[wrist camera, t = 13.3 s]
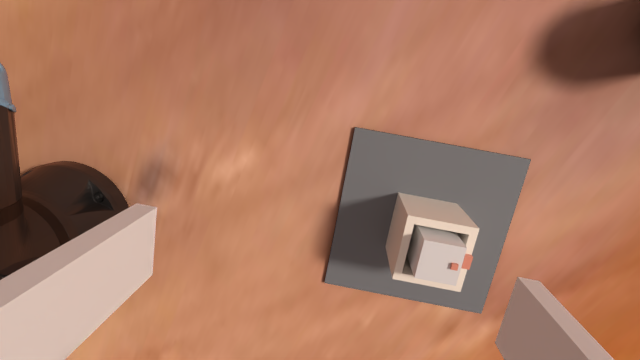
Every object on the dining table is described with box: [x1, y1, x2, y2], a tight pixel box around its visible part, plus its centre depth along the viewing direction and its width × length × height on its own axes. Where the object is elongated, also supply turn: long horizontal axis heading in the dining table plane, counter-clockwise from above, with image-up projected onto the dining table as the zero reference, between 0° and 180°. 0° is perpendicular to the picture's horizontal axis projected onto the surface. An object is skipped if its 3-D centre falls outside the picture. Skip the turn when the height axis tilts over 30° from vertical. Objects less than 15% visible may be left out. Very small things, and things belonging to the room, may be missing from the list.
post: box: [325, 127, 531, 314], centre depth 41 cm, size 20×20×11 cm
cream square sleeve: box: [385, 193, 479, 292], centre depth 42 cm, size 7×7×8 cm
